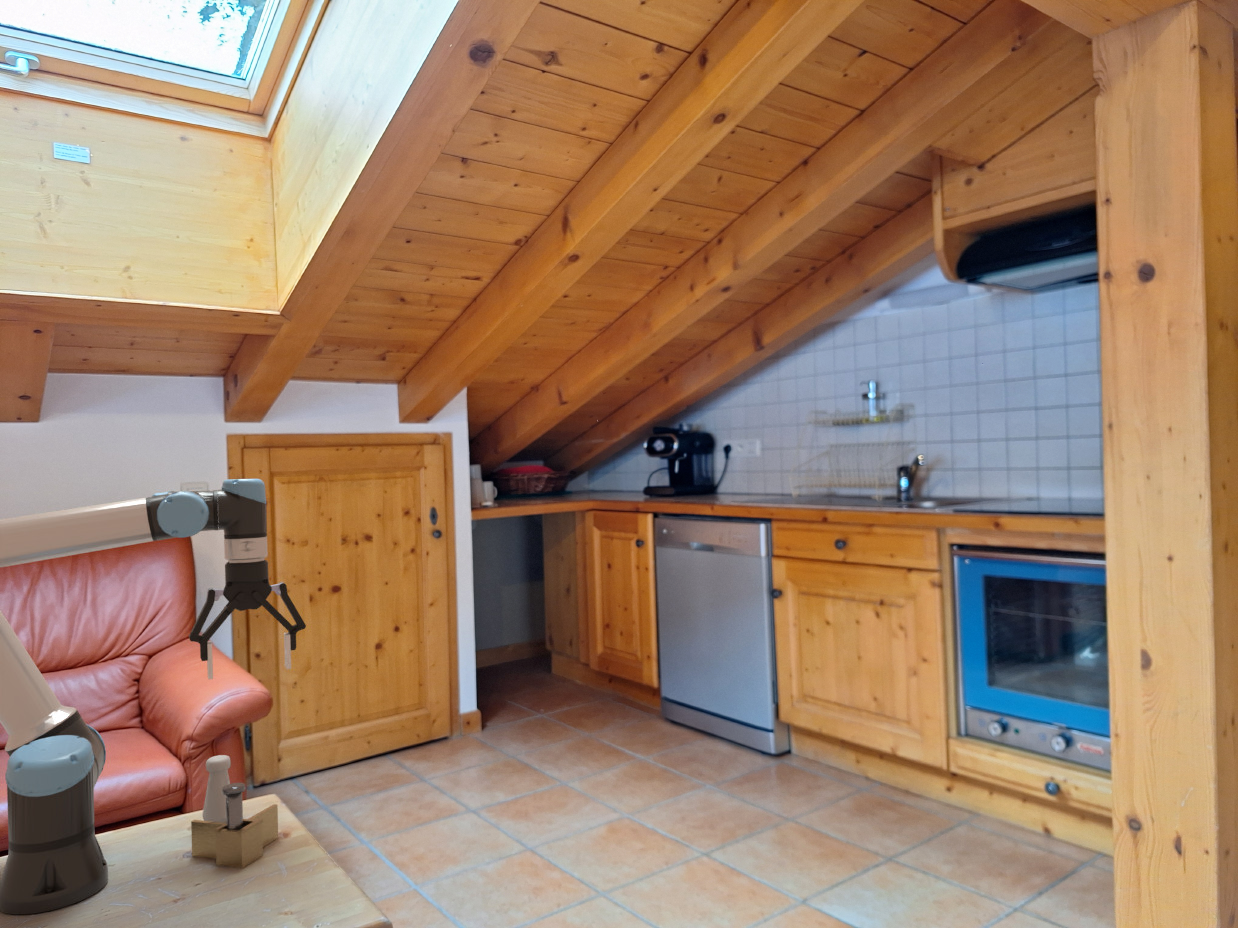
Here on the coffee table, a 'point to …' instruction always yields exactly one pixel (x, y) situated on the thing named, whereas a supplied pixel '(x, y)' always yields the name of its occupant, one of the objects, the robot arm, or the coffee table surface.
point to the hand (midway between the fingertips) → (250, 672)
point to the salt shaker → (216, 788)
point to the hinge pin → (234, 805)
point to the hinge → (235, 839)
